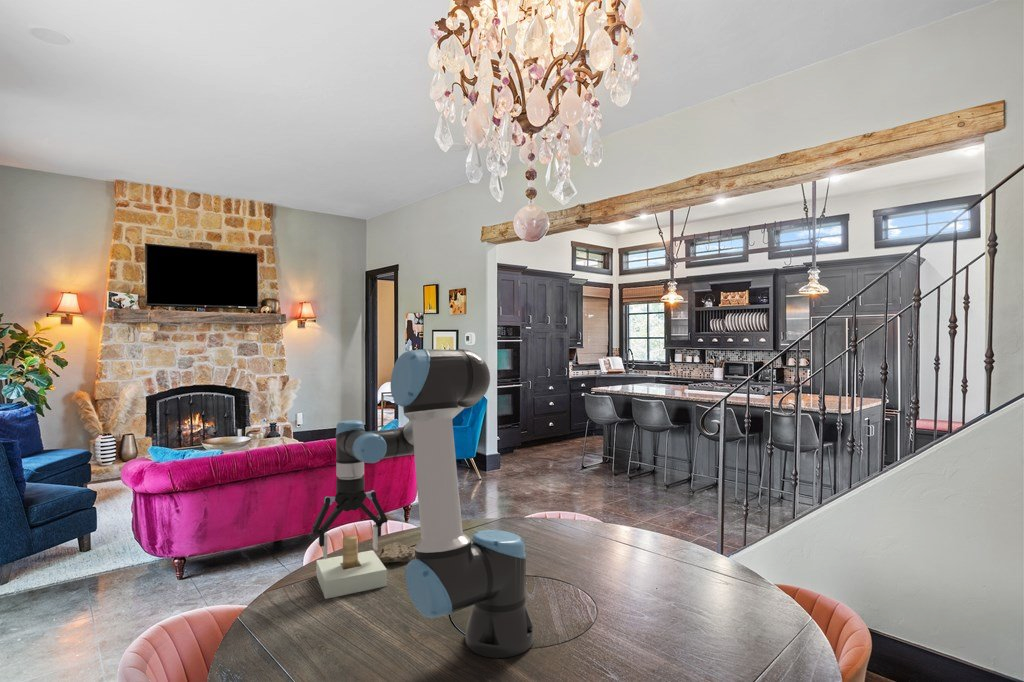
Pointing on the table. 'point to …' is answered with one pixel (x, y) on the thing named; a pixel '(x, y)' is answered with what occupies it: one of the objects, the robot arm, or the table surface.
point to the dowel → (350, 551)
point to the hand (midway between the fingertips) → (350, 553)
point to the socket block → (350, 575)
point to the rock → (396, 553)
